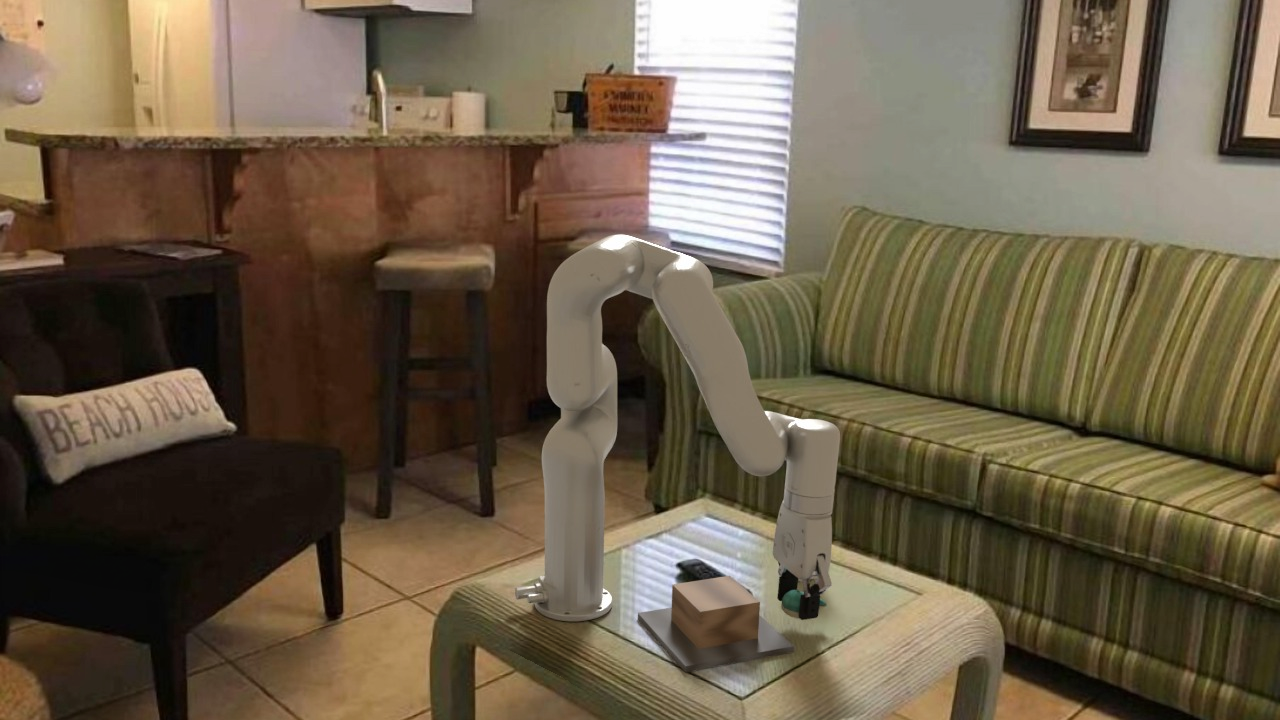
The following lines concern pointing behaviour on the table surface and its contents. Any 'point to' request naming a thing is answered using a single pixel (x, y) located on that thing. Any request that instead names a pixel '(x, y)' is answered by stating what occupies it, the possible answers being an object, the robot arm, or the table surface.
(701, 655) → the display plinth
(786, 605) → the whale figurine
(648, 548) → the table surface
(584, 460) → the robot arm
